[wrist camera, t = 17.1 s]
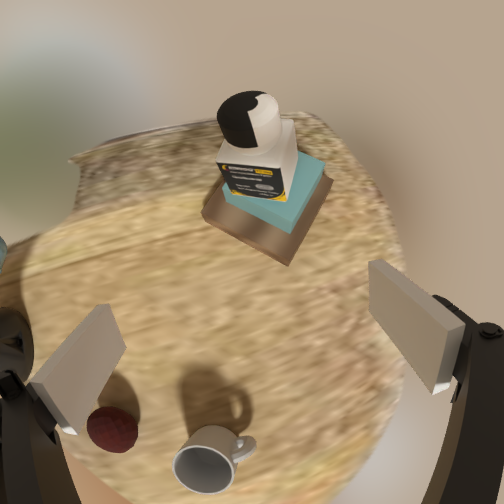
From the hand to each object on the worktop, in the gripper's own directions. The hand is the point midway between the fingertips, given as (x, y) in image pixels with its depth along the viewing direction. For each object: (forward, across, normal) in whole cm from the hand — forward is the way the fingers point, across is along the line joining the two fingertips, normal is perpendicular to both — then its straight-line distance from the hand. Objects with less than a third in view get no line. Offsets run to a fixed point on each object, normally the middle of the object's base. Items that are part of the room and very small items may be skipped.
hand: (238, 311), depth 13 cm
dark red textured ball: (+14, -23, -25) cm, 37 cm away
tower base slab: (+32, +4, 0) cm, 32 cm away
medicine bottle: (+25, +4, +5) cm, 26 cm away
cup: (+13, -8, -28) cm, 31 cm away
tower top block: (+29, +5, +3) cm, 29 cm away
